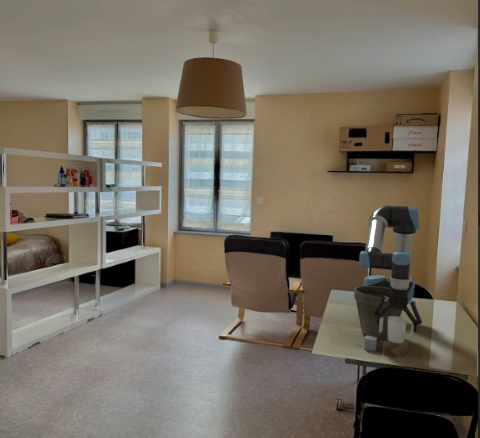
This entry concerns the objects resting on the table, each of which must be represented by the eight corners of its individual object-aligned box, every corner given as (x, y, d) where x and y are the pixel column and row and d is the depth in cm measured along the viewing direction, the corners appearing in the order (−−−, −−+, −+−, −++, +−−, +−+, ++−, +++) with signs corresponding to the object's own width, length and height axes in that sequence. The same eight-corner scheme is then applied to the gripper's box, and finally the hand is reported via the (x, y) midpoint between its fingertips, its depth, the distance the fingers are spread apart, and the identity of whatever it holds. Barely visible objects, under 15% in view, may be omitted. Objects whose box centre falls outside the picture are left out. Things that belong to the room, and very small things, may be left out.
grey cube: (364, 349, 194) (364, 338, 194) (365, 346, 199) (365, 335, 198) (375, 351, 192) (376, 340, 192) (376, 347, 197) (377, 337, 197)
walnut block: (382, 353, 190) (383, 342, 189) (390, 346, 199) (390, 336, 198) (400, 357, 185) (400, 346, 185) (407, 350, 194) (407, 339, 194)
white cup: (393, 344, 187) (394, 321, 186) (382, 338, 194) (384, 316, 194) (409, 343, 189) (410, 321, 188) (397, 337, 197) (399, 315, 196)
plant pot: (415, 339, 211) (418, 295, 209) (379, 346, 199) (382, 299, 197) (376, 324, 233) (378, 284, 231) (341, 330, 220) (343, 287, 219)
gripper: (368, 284, 194) (365, 331, 196) (427, 294, 180) (423, 344, 181) (374, 282, 200) (371, 327, 202) (431, 291, 186) (428, 339, 187)
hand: (396, 335), depth 192 cm, fingers open, 13 cm apart
